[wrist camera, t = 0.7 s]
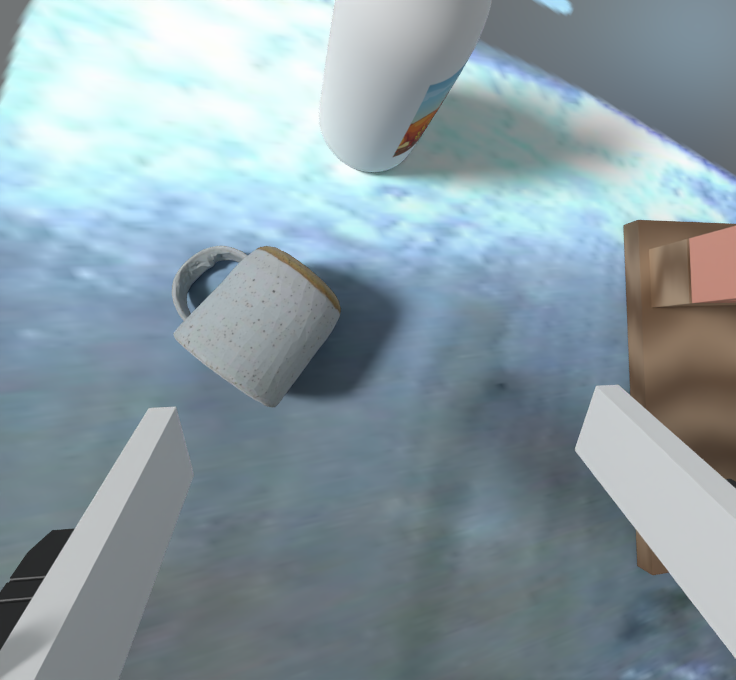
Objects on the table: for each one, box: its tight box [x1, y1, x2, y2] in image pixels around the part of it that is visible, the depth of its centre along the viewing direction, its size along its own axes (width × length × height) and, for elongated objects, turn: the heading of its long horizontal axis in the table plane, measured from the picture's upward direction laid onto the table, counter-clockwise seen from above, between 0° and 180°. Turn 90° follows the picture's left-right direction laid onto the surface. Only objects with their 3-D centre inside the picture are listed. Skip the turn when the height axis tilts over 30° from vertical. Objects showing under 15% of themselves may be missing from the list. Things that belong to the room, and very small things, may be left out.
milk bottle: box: [319, 0, 492, 172], centre depth 21 cm, size 8×8×20 cm
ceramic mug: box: [172, 246, 341, 407], centre depth 26 cm, size 11×8×8 cm
